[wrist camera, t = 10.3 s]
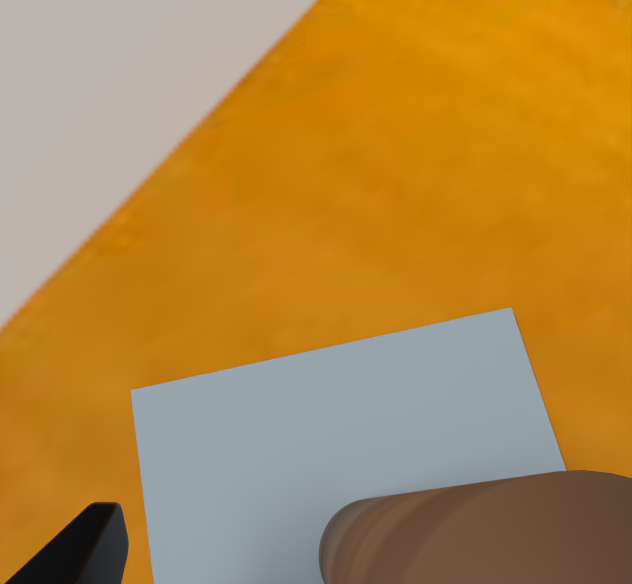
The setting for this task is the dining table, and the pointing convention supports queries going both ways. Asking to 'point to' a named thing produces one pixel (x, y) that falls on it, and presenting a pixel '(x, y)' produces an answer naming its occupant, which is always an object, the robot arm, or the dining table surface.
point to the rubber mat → (329, 443)
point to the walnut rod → (487, 533)
